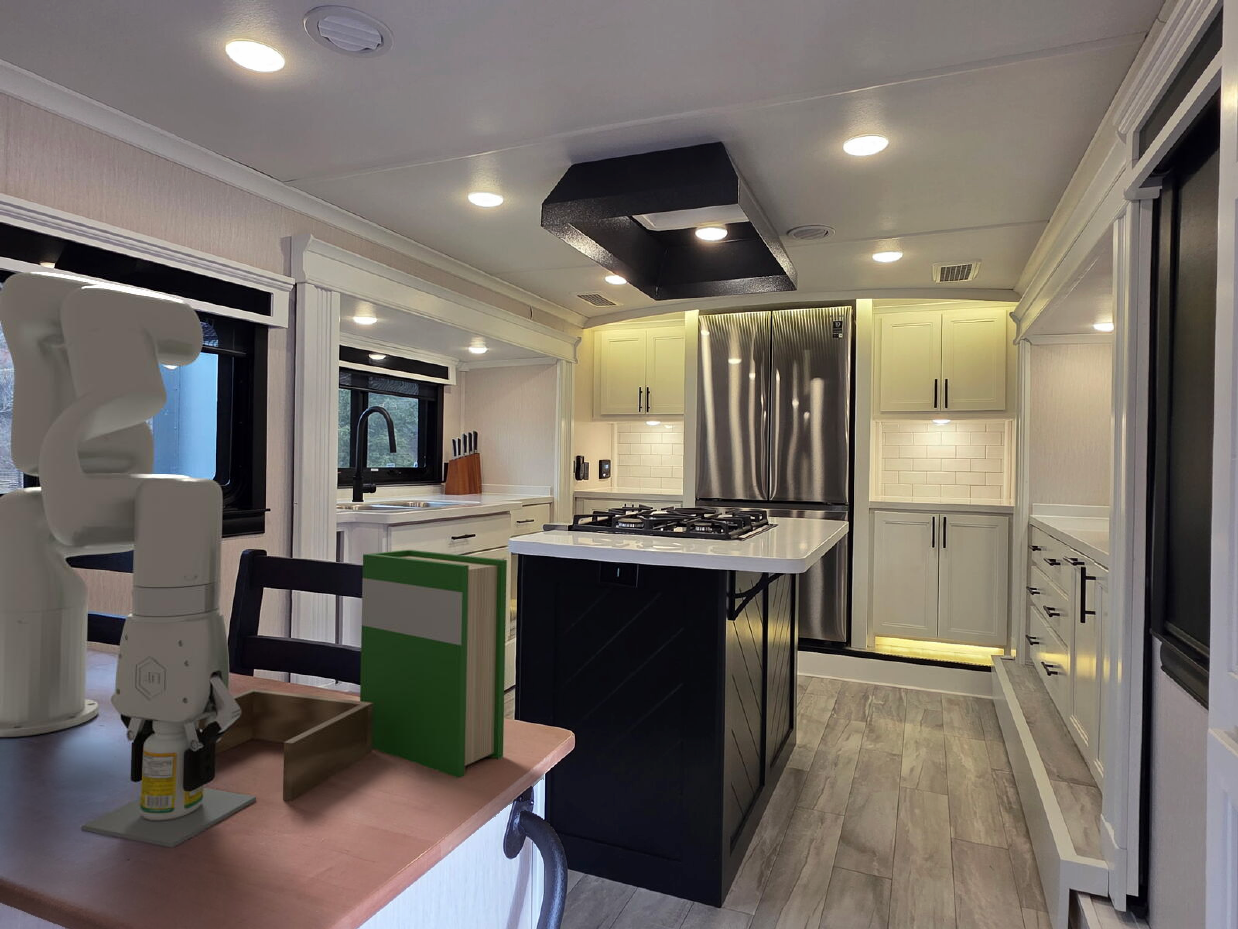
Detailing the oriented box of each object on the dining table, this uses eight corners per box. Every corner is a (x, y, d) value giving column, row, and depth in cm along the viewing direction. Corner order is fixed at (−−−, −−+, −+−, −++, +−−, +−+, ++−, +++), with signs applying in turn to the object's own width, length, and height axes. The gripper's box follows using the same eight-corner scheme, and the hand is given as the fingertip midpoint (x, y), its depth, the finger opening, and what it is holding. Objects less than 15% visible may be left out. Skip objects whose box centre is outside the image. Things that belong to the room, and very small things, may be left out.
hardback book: (503, 757, 88) (506, 560, 88) (458, 777, 82) (462, 566, 82) (405, 727, 97) (409, 549, 98) (359, 743, 91) (363, 554, 92)
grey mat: (81, 829, 69) (81, 825, 69) (172, 786, 78) (172, 782, 78) (172, 848, 66) (172, 843, 66) (255, 800, 75) (256, 796, 75)
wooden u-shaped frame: (155, 778, 80) (157, 724, 80) (251, 734, 94) (253, 688, 94) (290, 801, 75) (292, 743, 75) (371, 751, 89) (372, 702, 89)
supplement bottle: (146, 827, 68) (150, 725, 68) (135, 807, 72) (139, 711, 72) (209, 811, 72) (213, 714, 72) (195, 792, 76) (199, 701, 76)
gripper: (75, 601, 71) (70, 785, 71) (216, 613, 66) (211, 811, 66) (144, 589, 78) (140, 756, 78) (276, 600, 73) (271, 777, 73)
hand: (172, 779), depth 72 cm, fingers open, 5 cm apart
